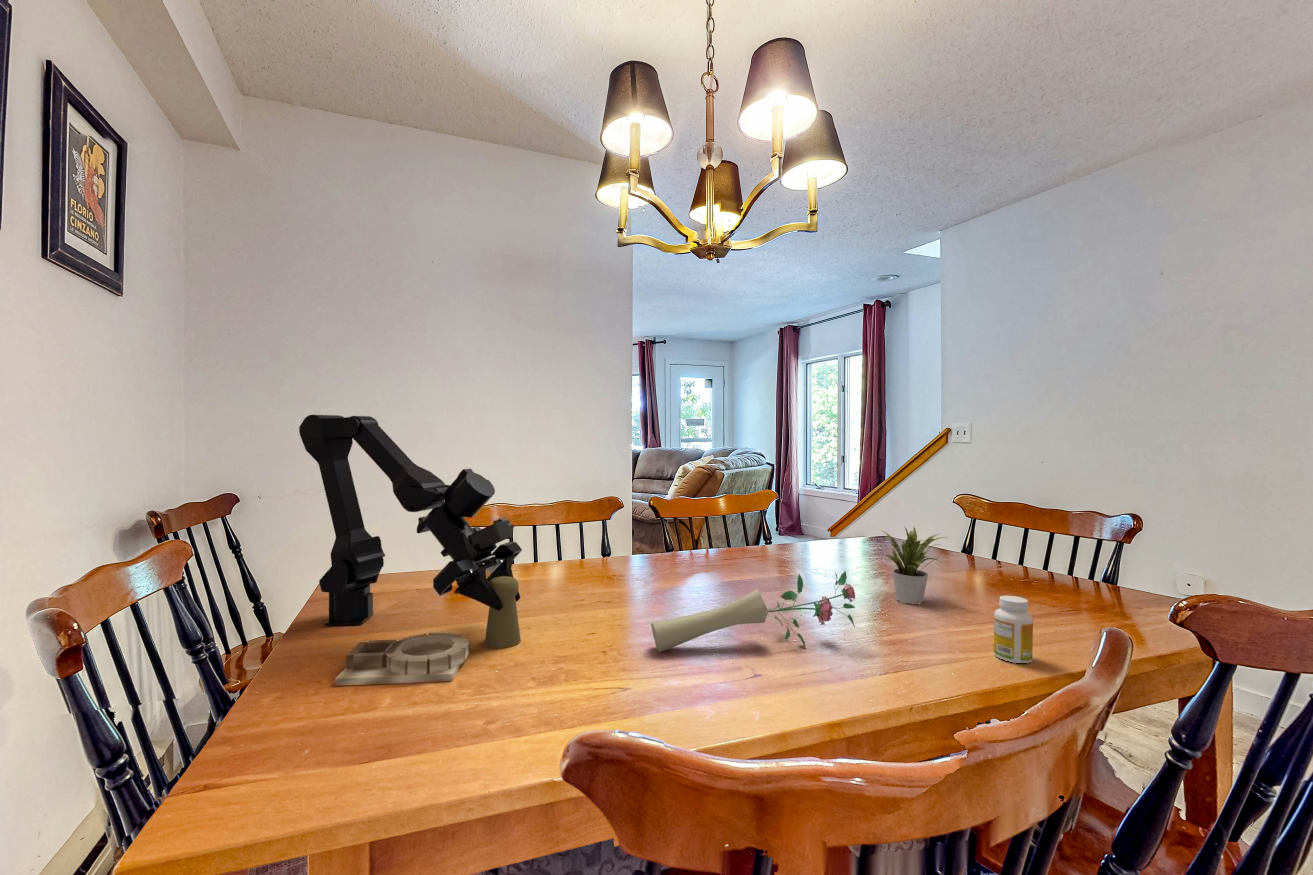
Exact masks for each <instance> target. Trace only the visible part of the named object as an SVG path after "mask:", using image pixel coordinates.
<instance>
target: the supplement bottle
mask: <svg viewBox="0 0 1313 875" xmlns="http://www.w3.org/2000/svg"><path fill="white" fill-rule="evenodd" d="M998 602H999V603H998V604H999V607H1000V608H997V609H996V610H995V611H994V614H993V615H994V616H993V620H994V621H993V623H994V624H993V625H994V626H993V655H994V657H996V658H997V657H998V658H997V659H999V658H1000V659H999V660H1001V659H1003V660H1005V661H1004V662H1006V661H1009V662H1008V663H1010V662H1013V663H1012V664H1016V663H1027V664H1030V663H1032V662H1033V643H1034V642H1033V640H1034V637H1033V636H1034V634H1033V633H1034V619H1033V618H1034V617H1033V616H1032V615H1031V613H1029V612H1027V611H1028V610H1029V600H1028V599H1026V598H1024V597H1021V596H1016V595H1015V596H1014V595H1001V596H999V601H998ZM1003 660H1002V661H1003ZM1029 662H1030V663H1029Z"/></svg>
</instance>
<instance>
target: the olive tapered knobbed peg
mask: <svg viewBox="0 0 1313 875" xmlns="http://www.w3.org/2000/svg"><path fill="white" fill-rule="evenodd" d="M513 577H514V576H513ZM513 577H508V576H501V577H496V578H493V579H492V580H490V582H489V584H490V585H491V587H492V588H493V590H494V591H495V593H496V594H497V596H498V597H499V599H500V600H501V602H502V604H503V608H502V609H501V610H499V611H498V610H496V609H494V608H492V607H489V606H488V607H489V609H488V616H487V622H486V630H485V638H484V645H485V647H487V648H490V649H506V648H507V649H508V648H512V647H515V646H518V645H519V644H520V643H521V642H522V641H521V640H522V639H521V633H520V624H519V616H518V607H517V602H516V599H515V596H516V595H517V593H518V591H519V588H520V585H519V582H518V579H517V578H515V577H514V578H513Z"/></svg>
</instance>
